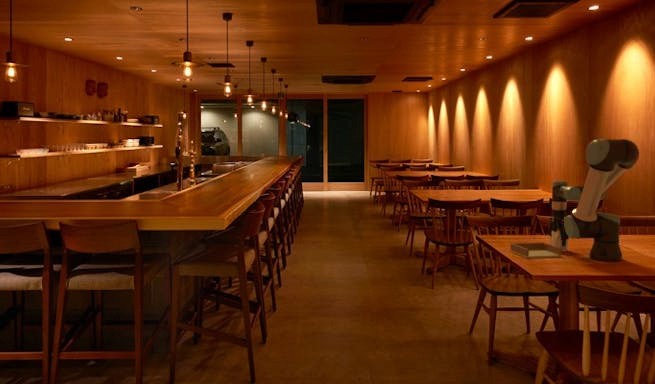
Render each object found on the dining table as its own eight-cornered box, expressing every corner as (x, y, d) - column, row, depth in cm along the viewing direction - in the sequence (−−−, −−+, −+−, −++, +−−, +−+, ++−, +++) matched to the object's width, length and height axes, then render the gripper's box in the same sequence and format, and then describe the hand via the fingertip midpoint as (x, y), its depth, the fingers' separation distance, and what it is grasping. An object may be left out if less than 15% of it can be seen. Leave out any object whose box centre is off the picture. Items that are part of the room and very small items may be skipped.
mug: (563, 253, 306) (563, 234, 305) (547, 251, 311) (547, 232, 310) (569, 249, 316) (570, 231, 315) (553, 248, 321) (554, 229, 320)
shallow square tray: (561, 257, 296) (561, 248, 296) (526, 258, 293) (526, 249, 293) (543, 250, 314) (543, 242, 313) (510, 251, 311) (510, 243, 311)
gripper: (577, 211, 302) (575, 253, 304) (554, 206, 323) (553, 246, 326) (563, 211, 301) (562, 254, 303) (542, 206, 322) (540, 246, 324)
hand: (557, 249), depth 314 cm, fingers open, 9 cm apart
